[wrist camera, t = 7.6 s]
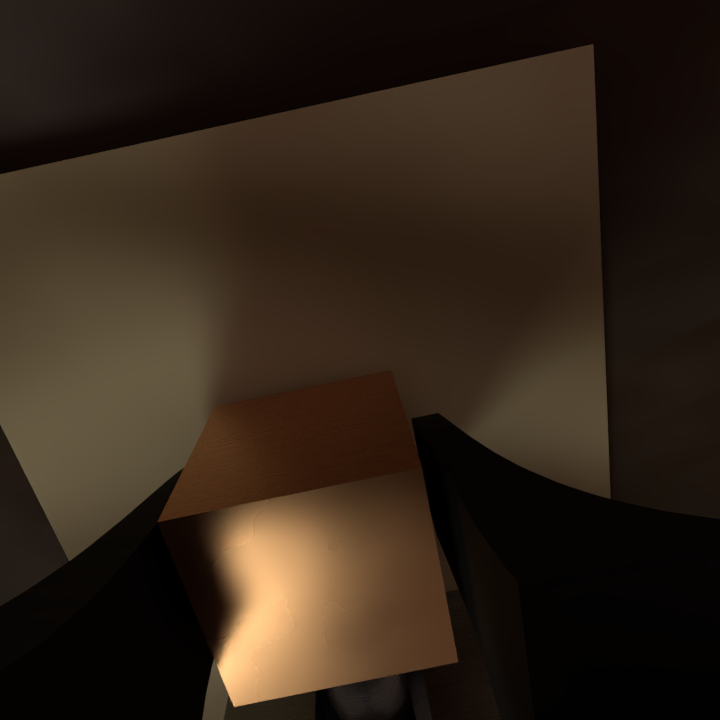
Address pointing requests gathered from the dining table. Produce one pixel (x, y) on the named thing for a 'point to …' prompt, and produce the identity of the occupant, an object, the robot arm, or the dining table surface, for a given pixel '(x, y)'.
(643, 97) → the dining table surface
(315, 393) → the brown blocky piece
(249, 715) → the eye block
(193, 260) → the oak board
